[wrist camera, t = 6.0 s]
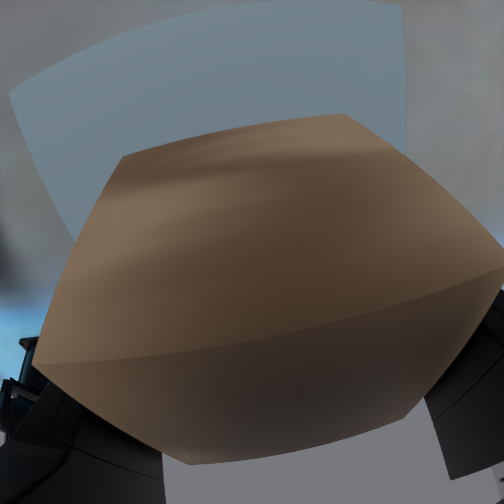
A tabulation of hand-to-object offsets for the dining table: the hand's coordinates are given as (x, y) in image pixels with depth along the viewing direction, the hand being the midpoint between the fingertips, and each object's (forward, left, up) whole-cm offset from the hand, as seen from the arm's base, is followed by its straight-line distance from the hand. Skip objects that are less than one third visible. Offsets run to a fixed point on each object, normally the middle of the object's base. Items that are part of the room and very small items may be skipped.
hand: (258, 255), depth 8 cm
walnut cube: (0, 0, -2) cm, 2 cm away
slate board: (0, +1, -11) cm, 11 cm away
